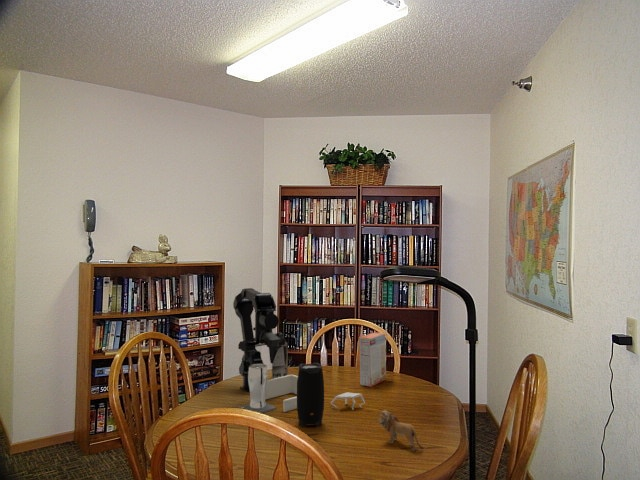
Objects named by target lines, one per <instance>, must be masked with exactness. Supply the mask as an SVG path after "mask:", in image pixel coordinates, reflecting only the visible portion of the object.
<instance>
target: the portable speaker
mask: <svg viewBox="0 0 640 480" xmlns="http://www.w3.org/2000/svg"><path fill="white" fill-rule="evenodd" d="M323 373H324V370H323V365H322V364H321V363H319V362H312V363H300V364H299V365H298V373H297V376H298V379H297V394H296V396H297V408H296V409H297V418H298V425H300V426H301V427H304V428H306V427H307V426H314V427H321V425H322V423H323V422H322V421H323V417H324V409H325V381H324V374H323Z"/></svg>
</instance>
